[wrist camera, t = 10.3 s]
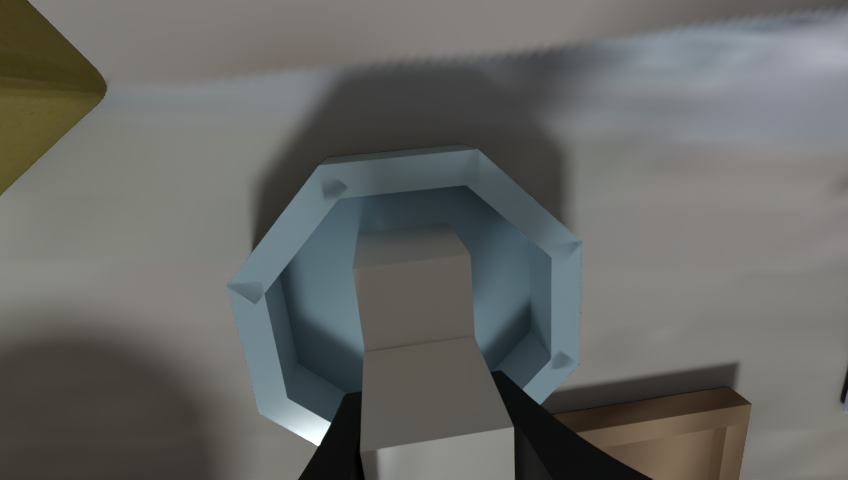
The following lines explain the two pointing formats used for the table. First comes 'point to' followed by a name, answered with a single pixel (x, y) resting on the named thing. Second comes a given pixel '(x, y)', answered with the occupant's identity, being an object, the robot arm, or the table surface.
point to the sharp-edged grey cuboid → (433, 415)
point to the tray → (671, 434)
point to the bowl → (335, 289)
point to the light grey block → (413, 287)
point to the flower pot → (38, 88)
